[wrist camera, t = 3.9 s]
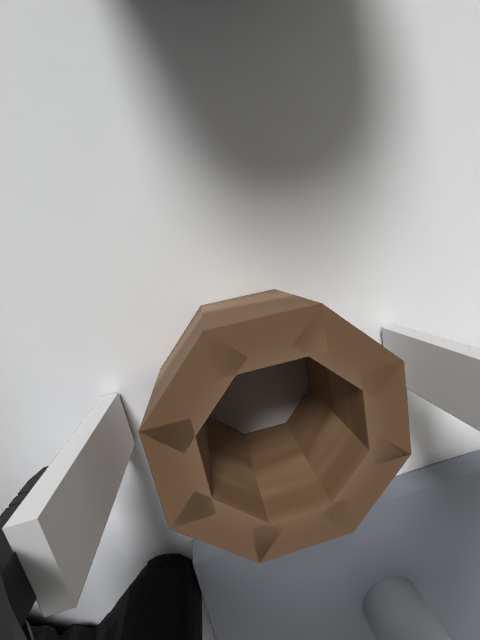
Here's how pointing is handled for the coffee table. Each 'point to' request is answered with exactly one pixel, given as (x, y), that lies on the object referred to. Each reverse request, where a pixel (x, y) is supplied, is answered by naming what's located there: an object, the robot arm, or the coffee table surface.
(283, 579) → the post board
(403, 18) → the coffee table surface
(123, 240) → the coffee table surface
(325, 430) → the collar
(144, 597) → the film camera
